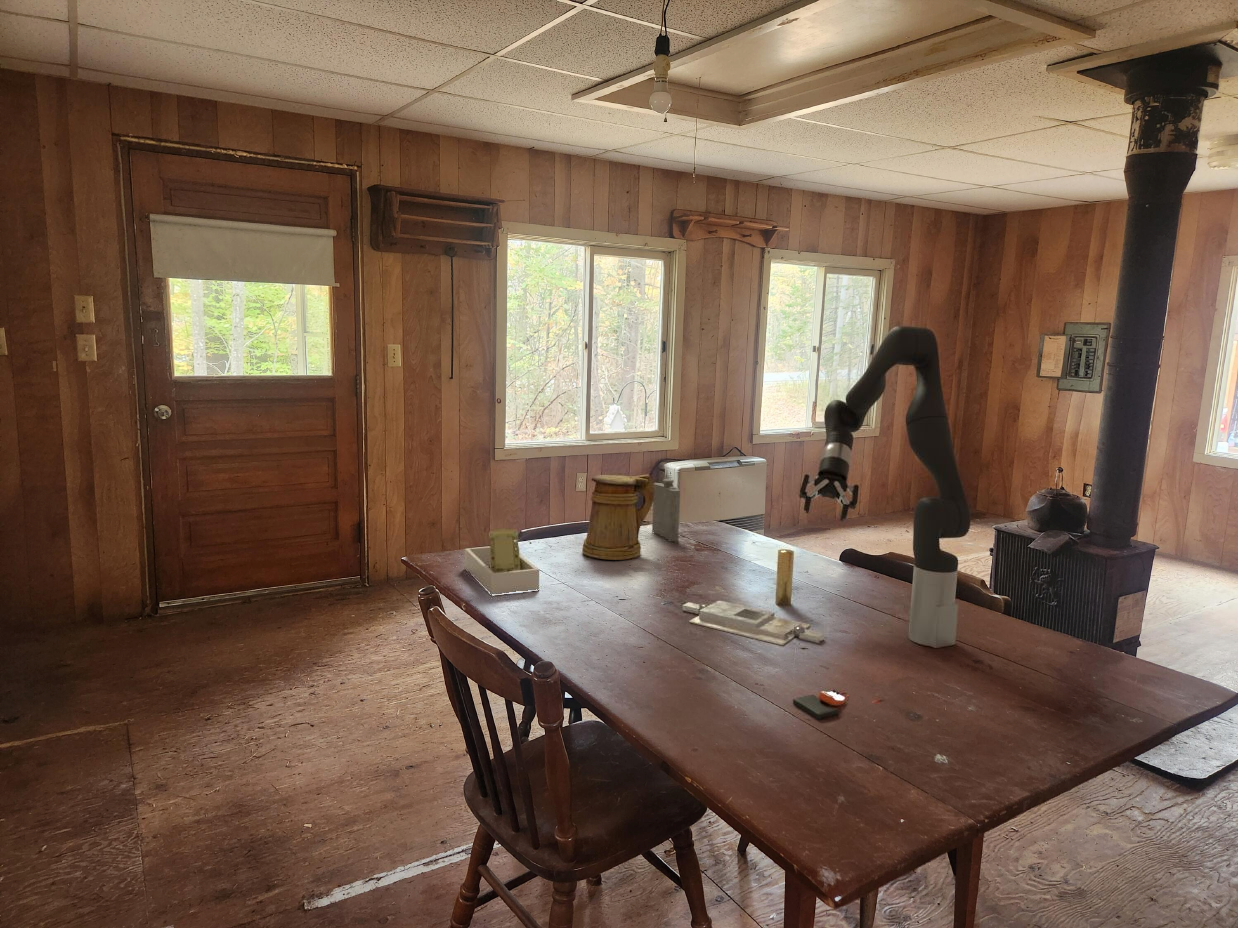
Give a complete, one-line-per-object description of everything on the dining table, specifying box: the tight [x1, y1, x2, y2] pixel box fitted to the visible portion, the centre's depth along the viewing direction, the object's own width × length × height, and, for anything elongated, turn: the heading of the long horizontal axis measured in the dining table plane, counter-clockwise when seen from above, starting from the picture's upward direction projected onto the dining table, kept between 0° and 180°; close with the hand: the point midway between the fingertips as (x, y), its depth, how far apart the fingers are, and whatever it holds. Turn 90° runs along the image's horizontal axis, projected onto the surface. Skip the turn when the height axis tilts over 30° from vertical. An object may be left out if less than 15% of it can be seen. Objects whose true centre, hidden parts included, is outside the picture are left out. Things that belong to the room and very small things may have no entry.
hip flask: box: [651, 478, 681, 542], centre depth 278 cm, size 16×4×20 cm, turn 24°
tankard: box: [581, 473, 654, 561], centre depth 254 cm, size 18×24×25 cm
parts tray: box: [464, 546, 540, 595], centre depth 224 cm, size 28×13×6 cm, turn 25°
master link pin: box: [774, 548, 795, 607], centre depth 208 cm, size 4×4×14 cm
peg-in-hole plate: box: [682, 600, 825, 647], centre depth 192 cm, size 36×16×2 cm, turn 55°
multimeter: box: [792, 689, 886, 721], centre depth 152 cm, size 18×12×3 cm, turn 112°
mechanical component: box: [488, 528, 521, 573], centre depth 222 cm, size 8×17×20 cm, turn 7°
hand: (824, 515), depth 202 cm, fingers open, 8 cm apart
